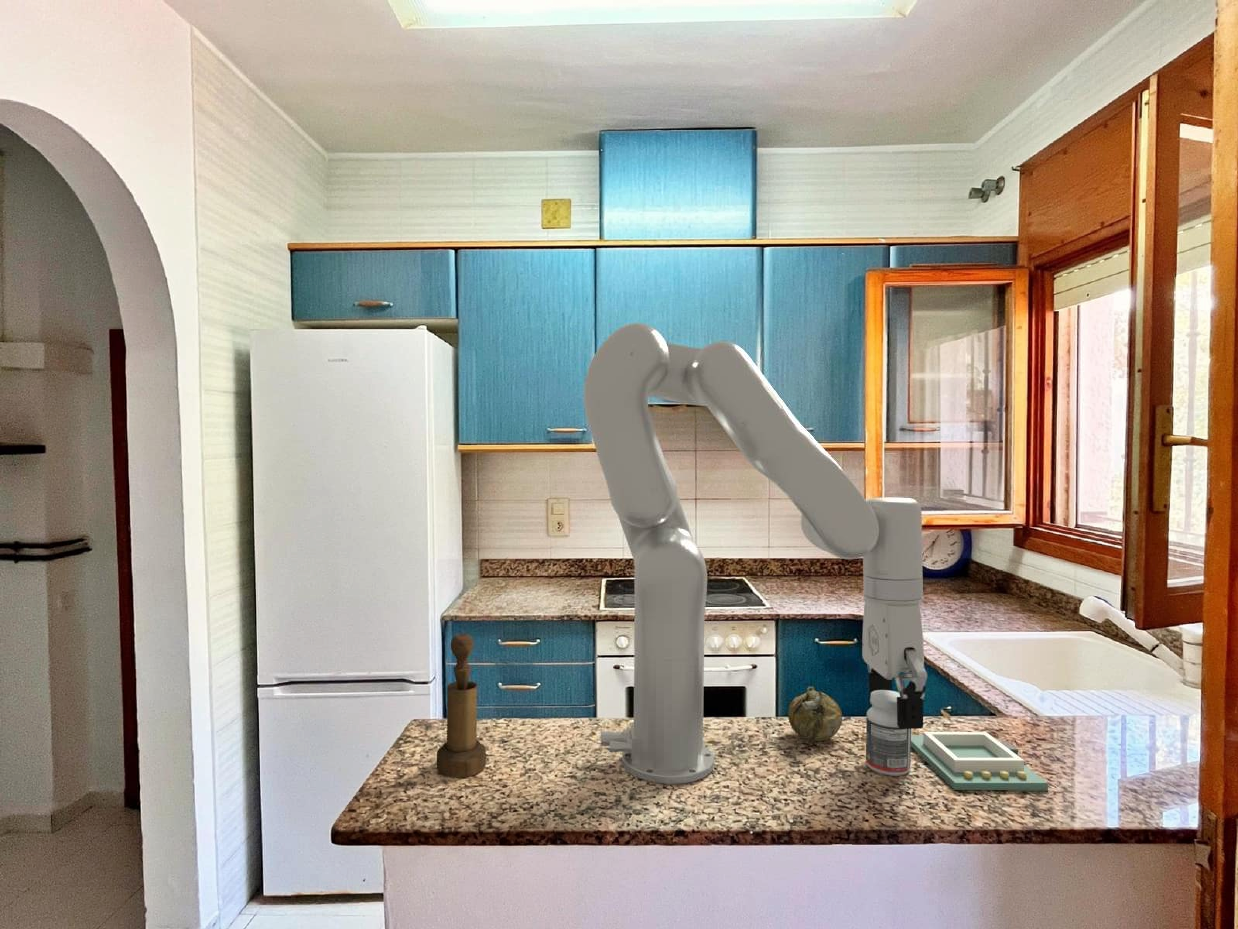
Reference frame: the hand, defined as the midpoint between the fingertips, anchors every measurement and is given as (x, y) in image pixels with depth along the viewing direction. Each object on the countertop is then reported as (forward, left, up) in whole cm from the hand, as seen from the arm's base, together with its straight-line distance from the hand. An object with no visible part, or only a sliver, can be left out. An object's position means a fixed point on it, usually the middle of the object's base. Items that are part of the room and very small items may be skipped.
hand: (894, 713), depth 95 cm
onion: (-8, +10, -8) cm, 15 cm away
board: (+11, +1, -7) cm, 13 cm away
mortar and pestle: (-59, 0, -8) cm, 59 cm away
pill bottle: (-1, 0, -8) cm, 8 cm away
